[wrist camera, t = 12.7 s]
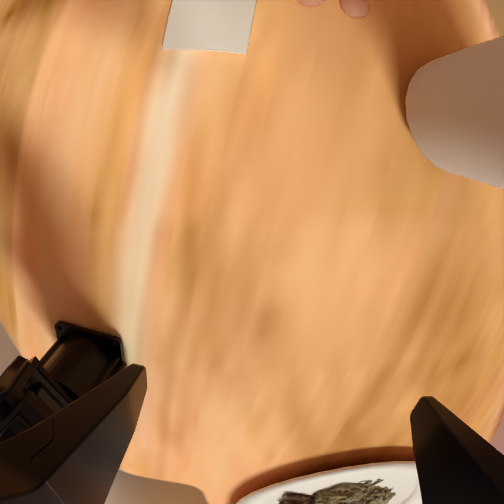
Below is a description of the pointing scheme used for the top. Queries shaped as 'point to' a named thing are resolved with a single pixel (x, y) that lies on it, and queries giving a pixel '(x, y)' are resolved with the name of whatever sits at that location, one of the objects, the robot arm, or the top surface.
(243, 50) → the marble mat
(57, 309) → the top surface
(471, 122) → the can
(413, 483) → the plated food
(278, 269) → the top surface
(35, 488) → the robot arm
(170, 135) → the top surface
